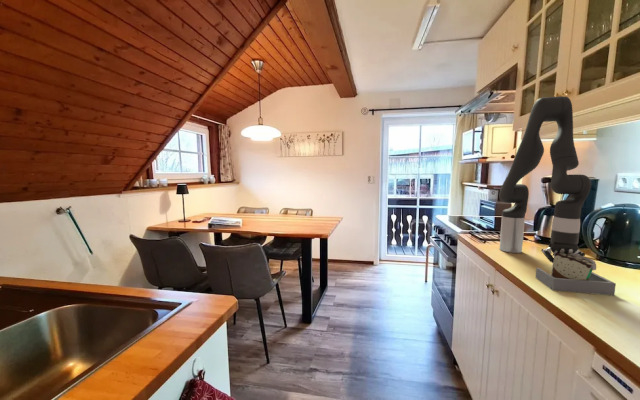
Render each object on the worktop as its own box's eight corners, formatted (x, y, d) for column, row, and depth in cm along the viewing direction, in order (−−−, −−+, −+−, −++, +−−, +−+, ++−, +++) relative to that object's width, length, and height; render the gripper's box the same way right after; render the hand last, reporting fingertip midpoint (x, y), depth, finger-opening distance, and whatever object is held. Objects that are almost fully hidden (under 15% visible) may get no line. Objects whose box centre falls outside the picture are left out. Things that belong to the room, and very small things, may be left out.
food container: (599, 292, 90) (607, 264, 88) (586, 292, 88) (594, 264, 86) (558, 274, 101) (565, 250, 100) (546, 275, 100) (553, 250, 98)
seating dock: (535, 278, 100) (536, 267, 100) (590, 282, 96) (591, 271, 96) (552, 290, 90) (553, 278, 90) (614, 295, 86) (615, 283, 86)
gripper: (579, 228, 99) (574, 272, 101) (538, 226, 102) (534, 269, 104) (595, 233, 92) (589, 281, 94) (550, 231, 95) (545, 277, 97)
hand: (560, 275), depth 99 cm, fingers closed
